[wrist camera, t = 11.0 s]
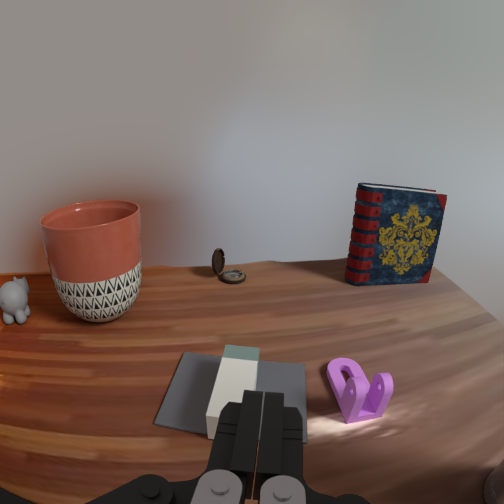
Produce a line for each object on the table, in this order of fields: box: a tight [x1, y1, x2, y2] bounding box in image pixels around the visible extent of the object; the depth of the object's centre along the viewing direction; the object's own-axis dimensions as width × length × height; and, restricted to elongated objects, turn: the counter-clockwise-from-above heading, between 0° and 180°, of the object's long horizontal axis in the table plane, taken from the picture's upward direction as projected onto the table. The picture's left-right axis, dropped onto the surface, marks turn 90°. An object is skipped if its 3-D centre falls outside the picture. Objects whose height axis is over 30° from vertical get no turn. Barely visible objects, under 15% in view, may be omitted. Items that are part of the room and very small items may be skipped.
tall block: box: [206, 345, 259, 439], centre depth 41 cm, size 5×5×14 cm
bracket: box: [326, 358, 393, 424], centre depth 43 cm, size 13×6×7 cm, turn 6°
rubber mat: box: [154, 352, 307, 444], centre depth 43 cm, size 20×16×1 cm
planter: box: [40, 200, 142, 322], centre depth 57 cm, size 20×20×21 cm
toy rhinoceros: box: [0, 276, 30, 324], centre depth 55 cm, size 7×12×8 cm, turn 12°
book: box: [345, 183, 447, 286], centre depth 76 cm, size 25×7×25 cm, turn 95°
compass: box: [212, 248, 246, 284], centre depth 78 cm, size 8×8×7 cm
